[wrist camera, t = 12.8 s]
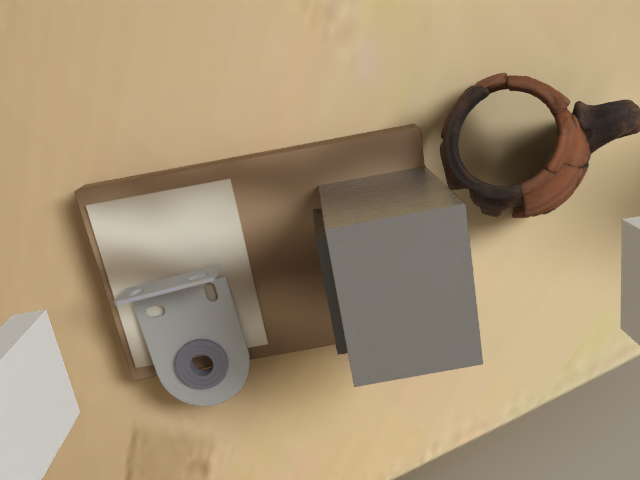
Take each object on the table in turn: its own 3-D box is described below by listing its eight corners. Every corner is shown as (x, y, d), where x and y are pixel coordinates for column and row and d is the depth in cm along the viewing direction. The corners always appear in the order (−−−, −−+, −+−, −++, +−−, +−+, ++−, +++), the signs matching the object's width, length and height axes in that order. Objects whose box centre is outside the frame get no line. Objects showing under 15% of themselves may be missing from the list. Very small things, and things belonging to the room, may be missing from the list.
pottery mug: (480, 241, 44) (462, 239, 36) (434, 123, 45) (407, 96, 37) (657, 176, 39) (679, 158, 32) (600, 48, 41) (608, 1, 33)
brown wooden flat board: (84, 184, 41) (73, 192, 39) (413, 123, 40) (420, 127, 38) (140, 366, 45) (132, 381, 43) (438, 312, 44) (445, 325, 42)
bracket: (174, 407, 44) (164, 437, 40) (126, 282, 41) (111, 303, 37) (261, 386, 43) (259, 413, 40) (220, 258, 40) (213, 277, 37)
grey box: (309, 187, 39) (312, 231, 30) (424, 165, 39) (465, 203, 30) (332, 311, 42) (343, 388, 32) (440, 292, 42) (483, 364, 32)
